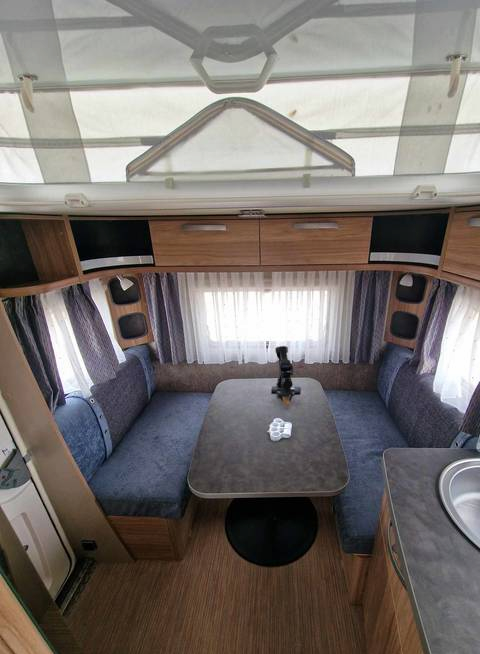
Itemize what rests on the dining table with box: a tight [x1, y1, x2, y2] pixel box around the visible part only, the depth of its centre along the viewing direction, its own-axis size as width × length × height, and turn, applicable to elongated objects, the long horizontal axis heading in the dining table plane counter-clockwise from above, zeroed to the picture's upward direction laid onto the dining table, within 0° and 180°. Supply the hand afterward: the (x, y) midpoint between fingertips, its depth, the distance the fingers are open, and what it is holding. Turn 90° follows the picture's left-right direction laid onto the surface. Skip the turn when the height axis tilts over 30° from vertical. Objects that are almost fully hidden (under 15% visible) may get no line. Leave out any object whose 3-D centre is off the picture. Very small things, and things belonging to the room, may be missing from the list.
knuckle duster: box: [266, 417, 293, 442], centre depth 175 cm, size 3×18×15 cm
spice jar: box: [282, 395, 291, 407], centre depth 185 cm, size 5×5×8 cm
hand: (286, 401), depth 186 cm, fingers closed on spice jar, 4 cm apart
